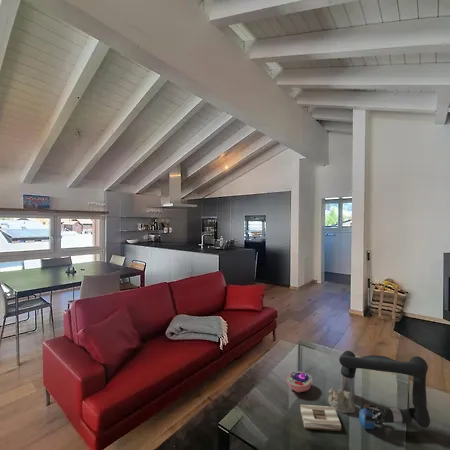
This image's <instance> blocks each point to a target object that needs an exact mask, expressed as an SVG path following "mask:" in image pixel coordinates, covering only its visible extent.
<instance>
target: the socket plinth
mask: <svg viewBox="0 0 450 450" xmlns="http://www.w3.org/2000/svg"><path fill="white" fill-rule="evenodd" d="M299 405H300V406H299V411H300V415H301V419H302V425H303V429H306V430H316V431H317V430H319V431H332V432H342V424H341V422H340V419H339V416H338V413H337V411H335V408H334V407H331V406H327V405H326V406H325V405H315V404H314V405H313V404H312V405H311V404H299Z"/></svg>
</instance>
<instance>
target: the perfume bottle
mask: <svg viewBox="0 0 450 450" xmlns="http://www.w3.org/2000/svg"><path fill="white" fill-rule="evenodd" d="M367 404H368V403H366V404H365V403H364V405H363V407H364V409H361V408H360V410H359V414H358V415H359V416H358V421H359V422H360V425H361V426H362V427H363V429H364V430H365V429H366V430H368V429H375V425H376V424H375V422H373V421H367V420H366V419H365V416H372V417H373V416H374V415H373V414H372V413H371V412H370V410H371V409H370V406H369V405H367Z"/></svg>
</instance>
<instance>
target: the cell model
mask: <svg viewBox="0 0 450 450" xmlns="http://www.w3.org/2000/svg"><path fill="white" fill-rule="evenodd" d="M286 380H287V381H286V383H287V385H288V386H289V388H291V390H293V391H294V392H296V393H303V392H308V391H309V390H310V388H311V386H312V383H313V377H312V375H310V374H309V373H307V372H304V371H300V370H296V371H292V372H290V373H289V374H288V376H287V377H286Z"/></svg>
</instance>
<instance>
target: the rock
mask: <svg viewBox="0 0 450 450" xmlns="http://www.w3.org/2000/svg"><path fill="white" fill-rule="evenodd" d="M327 398H328V404H329V405H330V407H334V408H335V411H336V413H337V412H338V413H341V414H353V413H355V412H356V406H355V402H356V401H355V399H354V400H353V399H352V398H351V396H350V392H346V391H344V392H343V391H341V388H339V389H338V390H335V389H334V387H331V388H330V389H329V390H328V397H327Z"/></svg>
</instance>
